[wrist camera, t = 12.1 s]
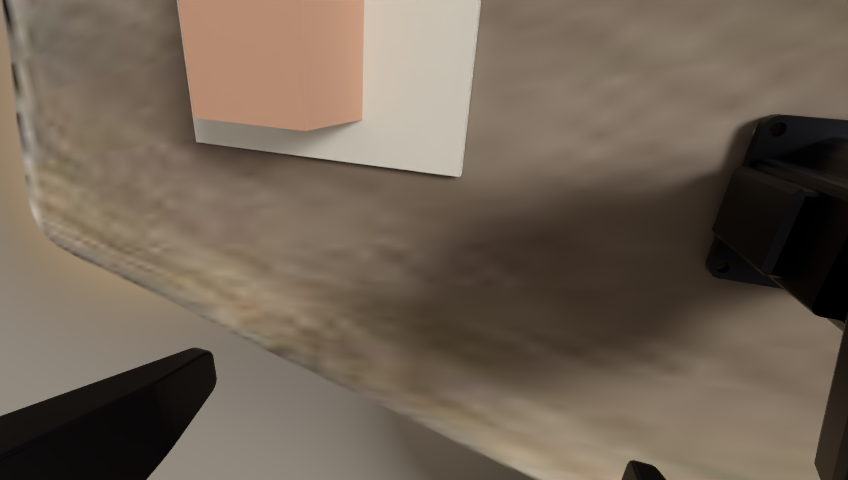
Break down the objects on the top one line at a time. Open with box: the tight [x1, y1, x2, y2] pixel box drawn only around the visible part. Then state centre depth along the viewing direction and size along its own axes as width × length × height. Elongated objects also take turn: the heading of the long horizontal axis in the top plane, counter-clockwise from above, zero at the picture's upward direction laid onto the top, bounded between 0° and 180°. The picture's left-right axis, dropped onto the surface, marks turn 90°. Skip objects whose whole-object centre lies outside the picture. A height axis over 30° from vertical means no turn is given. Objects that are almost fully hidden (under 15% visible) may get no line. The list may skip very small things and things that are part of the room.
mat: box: [177, 0, 481, 177], centre depth 17 cm, size 14×12×1 cm
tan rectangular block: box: [178, 0, 364, 131], centre depth 15 cm, size 8×4×5 cm, turn 176°
